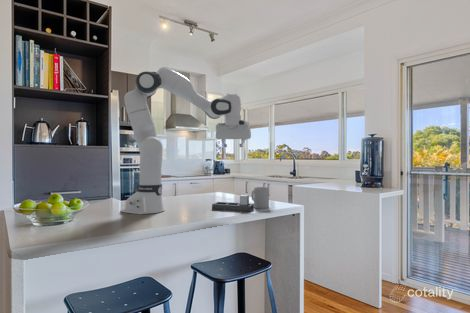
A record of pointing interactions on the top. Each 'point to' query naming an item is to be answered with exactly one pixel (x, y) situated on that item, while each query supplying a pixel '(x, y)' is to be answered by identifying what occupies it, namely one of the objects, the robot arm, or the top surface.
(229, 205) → the black compartment tray
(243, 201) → the steel block
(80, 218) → the top surface
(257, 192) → the mug
